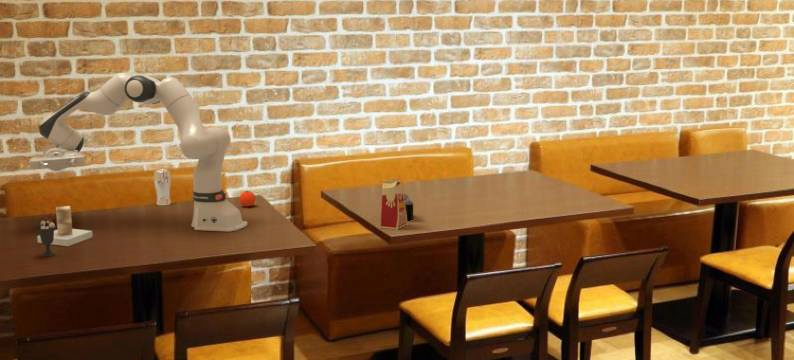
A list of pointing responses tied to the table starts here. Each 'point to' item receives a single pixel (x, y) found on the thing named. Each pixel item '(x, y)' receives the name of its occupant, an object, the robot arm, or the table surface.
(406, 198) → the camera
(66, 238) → the trivet
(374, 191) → the table surface
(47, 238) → the sundae
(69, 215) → the beech block
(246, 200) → the clementine
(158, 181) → the beer glass
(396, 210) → the milk carton
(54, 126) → the robot arm
